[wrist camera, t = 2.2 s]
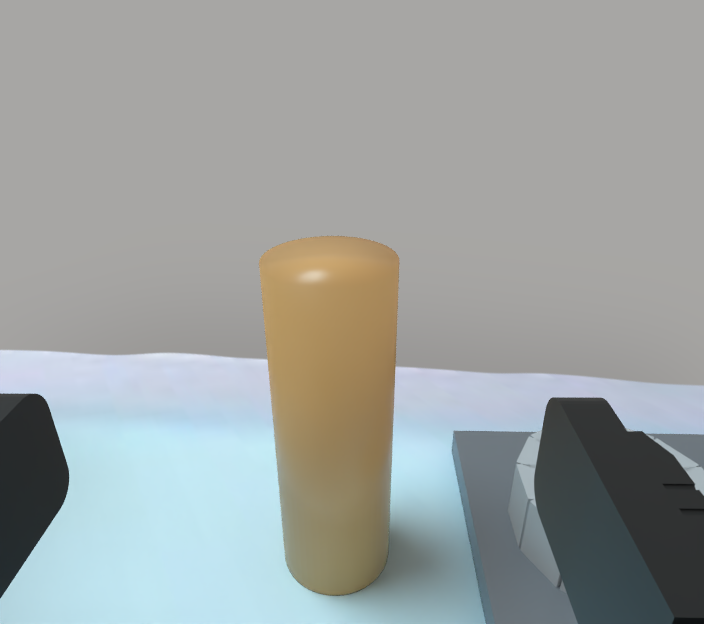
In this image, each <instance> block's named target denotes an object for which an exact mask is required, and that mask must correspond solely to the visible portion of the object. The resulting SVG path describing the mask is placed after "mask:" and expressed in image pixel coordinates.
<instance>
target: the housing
mask: <svg viewBox="0 0 704 624" xmlns="http://www.w3.org/2000/svg"><path fill="white" fill-rule="evenodd" d="M625 429H626V430H627V431H633V430H630V429H627V428H625ZM541 434H542V430H541V431H539V432H494V431H454V434H453V443H452V454H453V460H454V465H455V470H456V475H457V480H458V485H459V490H460V495H461V500H462V505H463V510H464V515H465V520H466V525H467V530H468V535H469V540H470V545H471V550H472V555H473V560H474V565H475V570H476V575H477V580H478V585H479V590H480V595H481V600H482V606H483V611H484V616H485V621H486V624H578V623H577V620H576V617H575V614H574V612H573V609H572V606H571V603H570V600H569V598H568V595H567V592H566V589H565V587H564V584H563V581H562V578H561V575H560V573H559V570H558V567H557V564H556V562H555V559H554V556H553V553H552V550H551V548H550V545H549V542H548V539H547V537H546V534H545V531H544V528H543V525H542V523H541V520H540V517H539V514H538V511H537V506H536V501H535V493H534V474H535V468H536V462H537V456H538V451H539V445H540V439H541ZM646 435H647V436H649V437H650V438H651V439H653V440H654V441H655V442H657V443H658V444H659V445H661V446H662V447H663V448H665V449H666V450H667V451H669V452H670V453H671V454H673V455H674V456H675V458H676V459H677V460H678V462H679V463H680V464H681V466H682V467H683V468H684V470H685V471H686V472H687V474H688V475H689V476H690V478H691V479H692V480H693V482H694V483H695V489H696V490H700V491H701V493H702V494H703V495H704V435H697V434H646Z"/></svg>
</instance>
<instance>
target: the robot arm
mask: <svg viewBox="0 0 704 624" xmlns="http://www.w3.org/2000/svg"><path fill="white" fill-rule="evenodd" d="M68 485H69V470H68V466H67V462H66V459H65V456H64V453H63V450H62V447H61V444H60V441H59V437H58V434H57V431H56V428H55V425H54V422H53V419H52V416H51V412H50V409H49V406H48V404H47V402H46V400H45V399H44V398H43V397H42V396H40V395H38V394H0V598H1V597H2V595H3V594H4V592H5V591H6V589H7V588H8V586H9V585H10V583H11V582H12V580H13V579H14V577H15V576H16V574H17V573H18V571H19V570H20V568H21V567H22V565H23V564H24V562H25V561H26V559H27V558H28V556H29V555H30V553H31V552H32V550H33V549H34V547H35V546H36V544H37V543H38V541H39V540H40V538H41V537H42V535H43V534H44V532H45V531H46V529H47V528H48V526H49V525H50V523H51V522H52V520H53V519H54V517H55V516H56V514H57V513H58V511H59V510H60V508H61V506H62V505H63V503H64V500H65V498H66V495H67V491H68ZM534 493H535V501H536V506H537V511H538V514H539V517H540V520H541V523H542V525H543V528H544V531H545V534H546V537H547V539H548V542H549V545H550V548H551V550H552V553H553V556H554V559H555V562H556V564H557V567H558V570H559V573H560V575H561V578H562V581H563V584H564V587H565V589H566V592H567V595H568V598H569V600H570V603H571V606H572V609H573V612H574V614H575V617H576V620H577V623H578V624H704V495H703V494H702V493H701V491H700V490H696V489H695V483H694V482H693V480H692V479H691V478H690V476H689V475H688V474H687V472H686V471H685V470H684V468H683V467H682V466H681V464H680V463H679V462H678V460H677V459H676V458H675V456H674V455H673V454H671V453H670V452H669V451H667V450H666V449H665V448H663V447H662V446H661V445H659V444H658V443H657V442H655V441H654V440H653V439H651V438H650V437H649V436H647V435H646V434H645V433H643V432H642V431H627V430H626V429H625V427H624V426H623V424H622V423H621V421H620V420H619V418H618V417H617V415H616V414H615V412H614V411H613V409H612V408H611V406H610V405H609V403H608V402H607V401H606V400H605V399H603V398H551V399H550V400H549V402H548V404H547V407H546V411H545V417H544V422H543V428H542V434H541V439H540V445H539V451H538V456H537V462H536V468H535V474H534Z"/></svg>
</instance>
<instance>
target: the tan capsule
mask: <svg viewBox="0 0 704 624" xmlns="http://www.w3.org/2000/svg"><path fill="white" fill-rule="evenodd" d="M259 267H260V277H261V290H262V300H263V312H264V324H265V334H266V346H267V357H268V369H269V380H270V391H271V403H272V414H273V425H274V436H275V448H276V459H277V470H278V482H279V493H280V504H281V515H282V527H283V538H284V549H285V559H286V563H287V566H288V569H289V571H290V572H291V574H292V575H293V577H294V578H295V579H296V580H297V581H298V582H299V583H300V584H301V585H303V586H304V587H306V588H308V589H309V590H312V591H314V592H317V593H320V594H325V595H345V594H350V593H354V592H357V591H359V590H361V589H363V588H365V587H367V586H368V585H370V584H371V583H372V582H373V581H374V580H376V578H377V577H378V576H379V575H380V574H381V572H382V571H383V569H384V567H385V565H386V562H387V558H388V546H389V520H390V494H391V467H392V441H393V415H394V388H395V362H396V336H397V335H396V334H397V309H398V282H399V257H398V255H397V254H396V252H395V251H393V250H392V249H391V248H389V247H387V246H385V245H383V244H380V243H378V242H375V241H371V240H367V239H362V238H355V237H345V236H321V237H310V238H303V239H298V240H293V241H289V242H286V243H283V244H280V245H278V246H276V247H273V248H271V249H270V250H268V251H267V252H265V253H264V254H263V255H262V257H261V258H260V261H259Z"/></svg>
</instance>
